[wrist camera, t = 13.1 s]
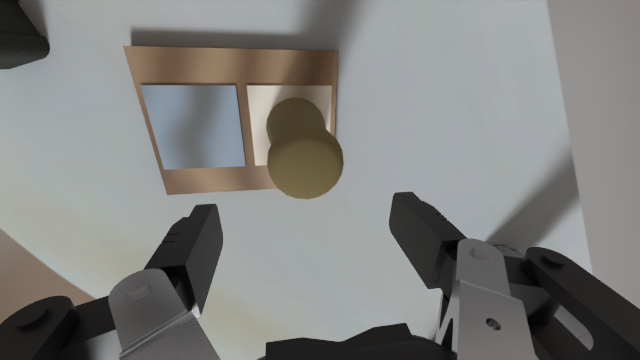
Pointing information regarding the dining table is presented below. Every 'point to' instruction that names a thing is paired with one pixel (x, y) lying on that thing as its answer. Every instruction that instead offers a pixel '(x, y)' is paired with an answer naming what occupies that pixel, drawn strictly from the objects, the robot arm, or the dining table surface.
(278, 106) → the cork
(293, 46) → the dining table surface
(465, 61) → the dining table surface
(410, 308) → the dining table surface
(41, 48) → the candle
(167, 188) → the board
